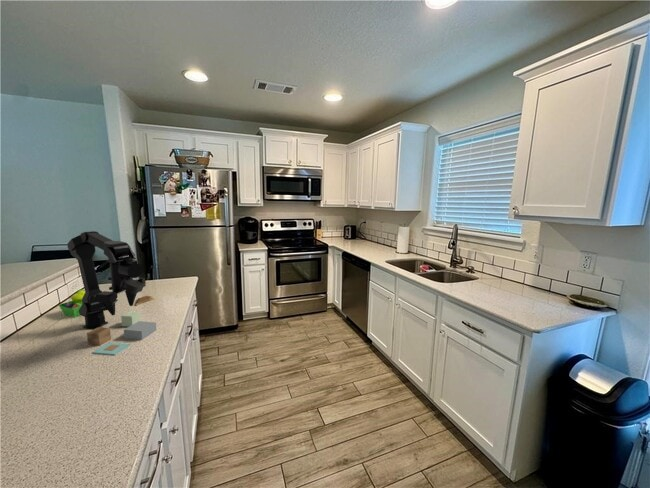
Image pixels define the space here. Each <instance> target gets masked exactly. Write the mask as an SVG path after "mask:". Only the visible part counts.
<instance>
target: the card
mask: <svg viewBox="0 0 650 488" xmlns="http://www.w3.org/2000/svg"><path fill="white" fill-rule="evenodd" d="M129 346H131V343H126V342H125V343H121V342H114V341H113V342H111V341H110V342H109V341H108V342H106V343H104V344H102V345H101V346H99V347H98V348H97V349H96V350H93V351H92V354H98V355H110V356H116V355H118V354H119V353H121V352H122V351H124V350H125V349H127V348H128V347H129Z"/></svg>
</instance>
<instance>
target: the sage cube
mask: <svg viewBox="0 0 650 488" xmlns="http://www.w3.org/2000/svg"><path fill="white" fill-rule="evenodd" d="M120 316H121V317H120V318H121V325H122V327H129V326H131V325H133V324H135V323H137V322H139V321H142V318H141V311H134V310H133V311H131V310H130V311H128V312H126V313H124V314H122V315H120Z"/></svg>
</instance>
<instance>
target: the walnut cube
mask: <svg viewBox="0 0 650 488" xmlns="http://www.w3.org/2000/svg"><path fill="white" fill-rule="evenodd" d="M86 338H87V339H86V340H87V345H88V346H98V347H101V346H103V345H105V344H107V343H108V342H109V341H110V340H112V334H111V327H103V326H101V327H98V328H96V329H91V330H90V331H88V332H86Z"/></svg>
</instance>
